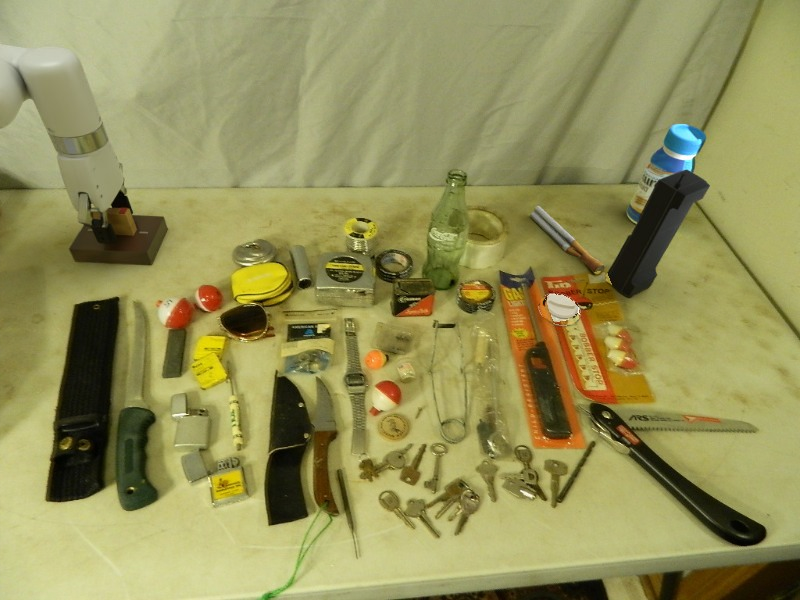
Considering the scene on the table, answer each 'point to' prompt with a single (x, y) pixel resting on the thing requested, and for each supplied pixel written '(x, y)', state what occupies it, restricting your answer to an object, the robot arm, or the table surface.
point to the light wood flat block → (119, 220)
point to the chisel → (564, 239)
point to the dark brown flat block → (122, 244)
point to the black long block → (655, 231)
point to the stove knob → (561, 308)
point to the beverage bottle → (667, 163)
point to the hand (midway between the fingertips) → (116, 227)
